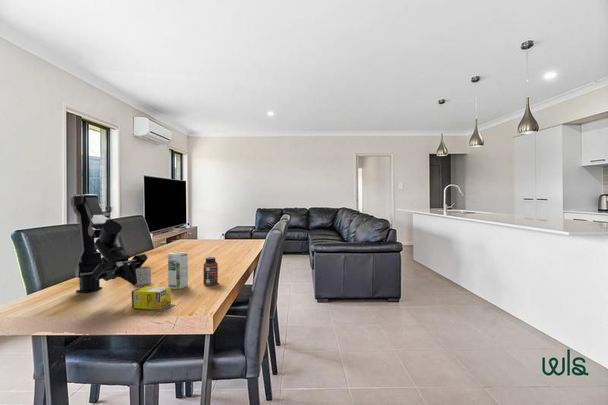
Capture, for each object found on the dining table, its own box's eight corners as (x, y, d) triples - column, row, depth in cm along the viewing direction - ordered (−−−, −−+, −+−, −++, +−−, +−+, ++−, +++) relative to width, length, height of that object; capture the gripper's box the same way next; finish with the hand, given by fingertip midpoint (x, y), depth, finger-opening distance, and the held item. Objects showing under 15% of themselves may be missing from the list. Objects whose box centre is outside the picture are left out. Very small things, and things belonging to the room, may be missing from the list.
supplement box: (131, 308, 107) (160, 310, 105) (131, 290, 107) (159, 292, 105) (143, 302, 113) (171, 304, 111) (143, 285, 113) (170, 287, 110)
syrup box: (167, 288, 131) (166, 253, 130) (178, 284, 136) (177, 250, 136) (178, 289, 128) (177, 254, 128) (188, 285, 134) (188, 251, 134)
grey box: (154, 281, 141) (154, 267, 140) (141, 285, 135) (140, 270, 134) (138, 279, 145) (138, 265, 145) (125, 283, 139) (124, 268, 138)
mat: (136, 308, 108) (136, 307, 108) (149, 302, 113) (149, 301, 113) (162, 311, 104) (162, 310, 104) (175, 305, 110) (175, 304, 110)
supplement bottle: (210, 286, 133) (209, 259, 132) (200, 284, 136) (200, 258, 135) (220, 283, 138) (220, 257, 137) (211, 281, 141) (211, 256, 141)
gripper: (120, 260, 123) (143, 291, 120) (72, 271, 105) (98, 308, 102) (136, 241, 121) (160, 271, 118) (90, 249, 103) (117, 285, 100)
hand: (135, 284), depth 109 cm, fingers closed
